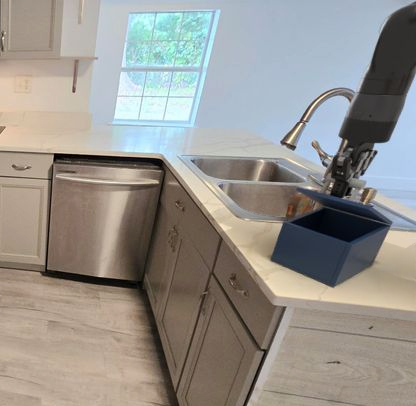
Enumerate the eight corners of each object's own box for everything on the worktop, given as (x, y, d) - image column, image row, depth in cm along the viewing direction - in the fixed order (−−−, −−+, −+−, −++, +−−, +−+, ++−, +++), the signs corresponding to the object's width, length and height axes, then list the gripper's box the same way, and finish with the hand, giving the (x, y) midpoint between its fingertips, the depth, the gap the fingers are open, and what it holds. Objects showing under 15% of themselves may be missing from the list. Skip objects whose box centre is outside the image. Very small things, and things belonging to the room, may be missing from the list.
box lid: (368, 209, 73) (385, 182, 72) (295, 190, 83) (308, 166, 82) (391, 225, 83) (405, 201, 82) (323, 205, 94) (335, 185, 92)
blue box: (333, 287, 80) (352, 245, 76) (269, 260, 91) (283, 222, 86) (372, 265, 88) (391, 225, 83) (309, 242, 98) (323, 206, 94)
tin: (292, 225, 107) (302, 199, 104) (280, 221, 110) (288, 196, 106) (313, 213, 114) (322, 188, 111) (301, 209, 117) (309, 185, 113)
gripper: (381, 122, 67) (345, 208, 74) (412, 116, 73) (376, 196, 80) (330, 116, 74) (302, 196, 80) (362, 111, 79) (333, 185, 86)
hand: (339, 195), depth 80 cm, fingers closed on box lid, 2 cm apart
